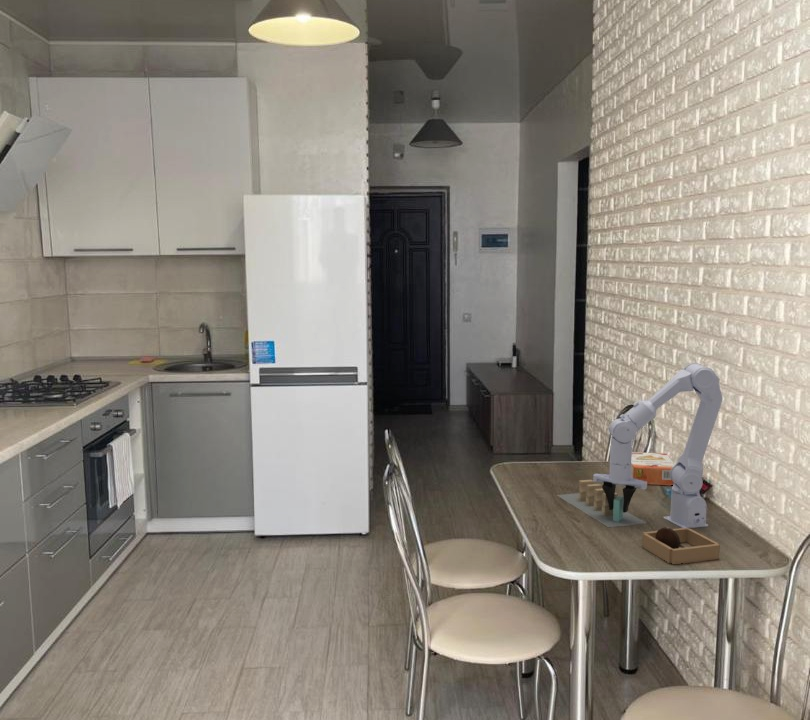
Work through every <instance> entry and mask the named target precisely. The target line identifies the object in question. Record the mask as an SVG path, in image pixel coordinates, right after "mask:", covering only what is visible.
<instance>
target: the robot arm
mask: <svg viewBox="0 0 810 720" xmlns="http://www.w3.org/2000/svg"><path fill="white" fill-rule="evenodd" d="M693 391H695V393H696V395H697V396H698V398H699V400H700V402H699V405H698V408H697V411H696V414H695V417H694V420H693V423H692V426H691V429H690V432H689V435H688V438H687V441H686V444H685V447H684V450H683V452H682V454H681V455H680V456H679V457H678V458H677V461H676V463H674V465H675V466H673V468H672V469H671V471H670V478H671V480H672V481H673V482H674V484H673V486H671V495H670V515H668V516H663V519H665V520H666V521H668V522H670V523H672V524H674V525H676V526H678V527H679V528H688V529H693V528H704V527H709V524H708V523H706V521H707V508H708V506H707V502H706V500H705V499H704V498H703V497H702V496H701V494H700V491H701V489H702V487H703V481H704V480H703V473H704V466H703V461H704V460H703V459H704V458H705V457H704V456H705V453H706V451H707V447H708V445H709V442H710V440H711V436H712V433H713V430H714V427H715V424H716V421H717V418H718V415H719V411H720V409H721V406H722V403H723V395H722V394H723V393H722V391H721V386H720V378H719V376H718V375H717V374H716V372H715V371H714V369H712V368H710V367H708V366H704V365H702V364H700V363H699V362H691V363H688V364H686V366H685V367H684V368H683V369H680V370H679V371H678V372H677V373H675V375H674V376H673V377H671V379H670V380H669V381H668V382H666V383H665V384H664V385H663V386H662V387H661V388H660V389H659V390H657V392H656V393H655V394H654V395H652V396H651V397H650V398H649V399H647V400H639V402H638V401H635V402H633V404H632V405H633V406H632V407H631V408H630V409H629V410H628V411H626V412H625V413H624V414H623V413H622V414H620V416H619V417H620V418H616V419H614V420H613V421H612V422H611V423H610V425H609V427H608V432H609V434H610V436H611V437H610V449H609V474H604V473H594V474H593V477H592V479H593V480H592V481H593V483H597V482H598V483H603V485H601V488H602V489H603V490H604V492H605V494H606V497H607V500H608V504H609V510H613V507H614V496H615V493H616V488H617V485H618V486H623V488H622V497H623V498H624V503H623V512H625V513H626V512H628V511H629V507H630V503H631V501H632V498H633V495H634V494H635V492H636V490H637V489H641V490H642V491H643V490H644V491H645V490H646V489H647V488H648V484H647V481H642V480H638V479H634V478H631V457H632V452H633V440H634V439H635V438H636V433H637V432H639V431H640V430H641V429H642V428H644V427H645V426H646V425H647V424H648V423H650V421H652V420H653V419H654V418H655V417H656V416H657V415H656V414H657V410H658V409H659V408H660V407H662V406H663V405H665V404H666V403H667V402H669V401H670V400H671V399H673V398H674V397H676V396H677V395H678V394H679V393H681V392H693Z"/></svg>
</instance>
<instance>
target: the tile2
mask: <svg viewBox="0 0 810 720" xmlns="http://www.w3.org/2000/svg"><path fill="white" fill-rule="evenodd" d="M618 496H619V494H618V492H615V496H614V499H615V498H617V497H618ZM602 514H603V515H604V516H608V515H613V510H609V504H608V500H607V497H606V494H605V493H604V494H603V496H602Z"/></svg>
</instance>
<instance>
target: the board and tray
mask: <svg viewBox="0 0 810 720" xmlns="http://www.w3.org/2000/svg"><path fill="white" fill-rule="evenodd" d="M556 496H557V497H558V498H560V499H562V500H564V502H567V503H568V504H570V505H571V506H573V507H575V508H576V509H578V510H580V511H581V512H583V513H584V514H586V515H587V516H589V517H591V518H593V519H595V520H596V521H598V522H599V523H601V524H602V525H604V526H606V528H607V527H608V528H616V527H626V526H635V525H644V524H645V525H646V524H647V522H646V521H644V520H642V519H641V518H639V517H637V516H635V515H633V514H632V513H630V512H628V511H627V512H626V513H625V512H623V518H622V519H621V520H620V521H619V522H617V521H613V515H608V516H604V515H603V514H602V510H601V511H596V510H594V506H587V505H586V501H582V502H581V501H579V500H578V492H577V493H576V492H575V493H567V494H566V493H565V494H557V495H556ZM671 529H672V530H674V531H675V532H676V533H677V534H678V536H679V539H680V544H682V543H683V544H684V543H687V544H689V545H691V546H687V547H686V546H685V548H677V549H672V548H671V547H669V546H667V545H666V544H664V543H662V542H660V541H659V540H657V539H656V533H657V531H658V530H653V531H651V530H650V531H643V532H642V538H641V540H642V541H641V546H642V548H643V549H645V550H646V551H648V552H650V553H651V554H653V555H654V556H656V557H658V558H660V559H661V560H663V561H664V560H665V561H664V562H666V561H667V563H668V564H671V563H672V565H673V564H675V565H682V564H681V563H683V564H689V563H690V564H691V563H698V562H704V561H705V562H706V561H714V560H720V550H721V547H720V546H721V544H720V543H719V542H717V541H715V540H714V539H711V538H709V537H707V536H705V535H704V534H701V532H700V533H699V532H697V531H696V530H694V529H693V528H681V527H679V528H671Z"/></svg>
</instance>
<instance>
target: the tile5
mask: <svg viewBox="0 0 810 720" xmlns="http://www.w3.org/2000/svg"><path fill="white" fill-rule="evenodd" d="M590 484H594V482H593V480H592V479H584V480H583V479H580V480H578V492H577V493H578V500H579V501H581V502H582V501H586V485H590Z"/></svg>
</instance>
